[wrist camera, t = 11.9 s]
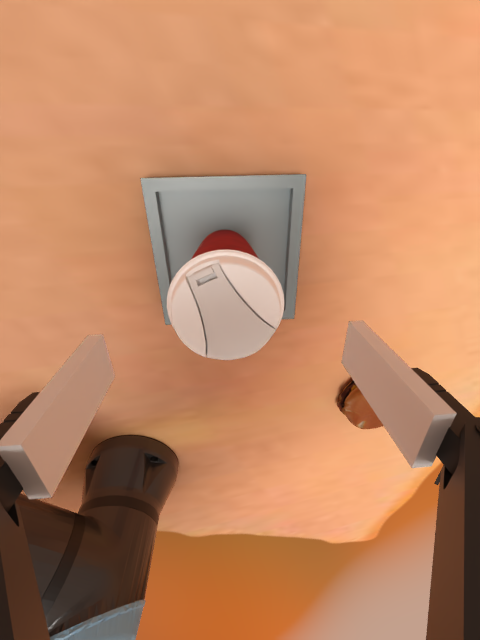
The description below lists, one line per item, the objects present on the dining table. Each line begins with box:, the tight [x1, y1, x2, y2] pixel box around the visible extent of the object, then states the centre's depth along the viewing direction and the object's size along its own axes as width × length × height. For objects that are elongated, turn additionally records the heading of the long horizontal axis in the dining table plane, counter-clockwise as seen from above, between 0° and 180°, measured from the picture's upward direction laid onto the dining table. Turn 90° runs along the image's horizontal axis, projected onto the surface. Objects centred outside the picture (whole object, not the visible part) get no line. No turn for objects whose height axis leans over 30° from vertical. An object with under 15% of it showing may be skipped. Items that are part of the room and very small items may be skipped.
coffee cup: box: [167, 230, 284, 360], centre depth 25 cm, size 8×8×15 cm
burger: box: [337, 380, 383, 429], centre depth 42 cm, size 10×9×5 cm
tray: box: [140, 174, 306, 325], centre depth 31 cm, size 16×16×2 cm
